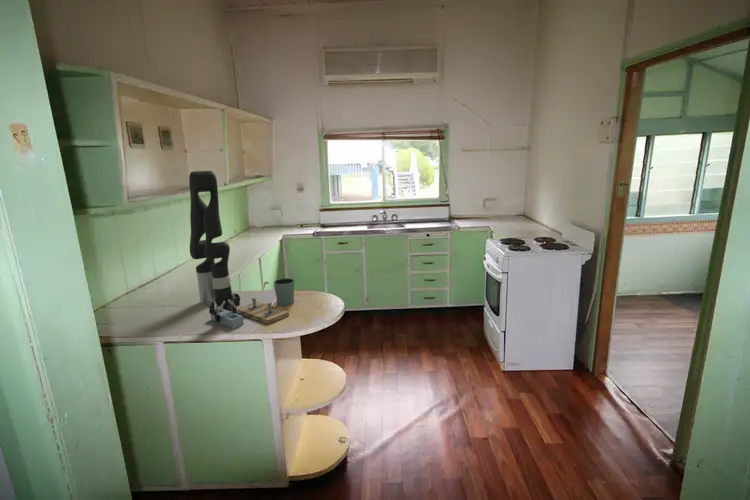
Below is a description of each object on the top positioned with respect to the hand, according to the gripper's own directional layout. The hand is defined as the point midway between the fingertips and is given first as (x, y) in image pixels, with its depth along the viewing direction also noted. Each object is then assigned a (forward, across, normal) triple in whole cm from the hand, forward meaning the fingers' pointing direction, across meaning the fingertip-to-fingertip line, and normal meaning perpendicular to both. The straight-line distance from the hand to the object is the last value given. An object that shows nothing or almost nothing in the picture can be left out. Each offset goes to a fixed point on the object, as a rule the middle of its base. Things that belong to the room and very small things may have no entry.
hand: (226, 318), depth 189 cm
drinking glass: (+2, -31, +5) cm, 31 cm away
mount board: (+2, -15, +7) cm, 17 cm away
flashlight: (+2, -11, -14) cm, 18 cm away
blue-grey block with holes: (+2, 0, 0) cm, 2 cm away
